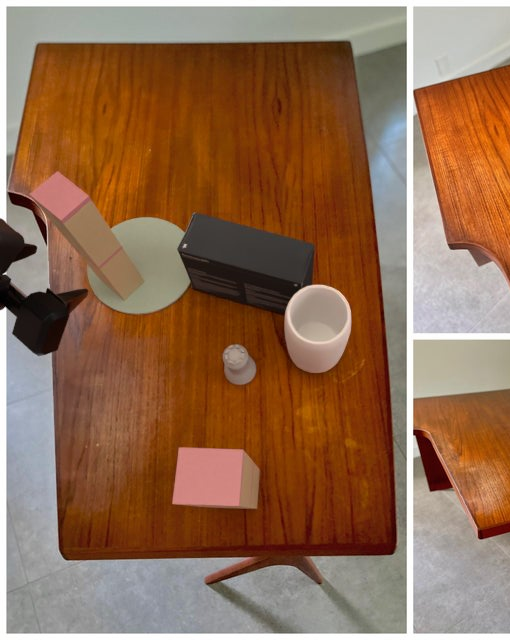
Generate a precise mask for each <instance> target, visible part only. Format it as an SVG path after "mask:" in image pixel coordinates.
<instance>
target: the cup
mask: <svg viewBox="0 0 510 640" xmlns="http://www.w3.org/2000/svg"><path fill="white" fill-rule="evenodd" d="M283 327H284V330H283V331H284V339H285V343H286V344H285V345H286V348H287V352H288V355H289V357H290V359H291V362H293V364H294V365H295V366H296V367H297V368H298V369H300V370H301V371H304V372H307V373H310V374H320V373H326V372H328V371H330V370H331V369H332V368H334V367H335V366H336V365H337V364H338V363H339V361H340V360H341V358H342V356H343V354H344V352H345V350H346V347H347V345H348V342H349V339H350V335H351V330H352V311H351V306H350V303H349V302H348V300H347V298H346V297H345V295H343V294H342V293H341V292H340V291H339V290H338V289H336V288H334V287H332V286H329V285H326V284H312V285H310V286H306V287H304V288H302V289H300V290H299V291H298V292H297V293H295V294H294V295H293V297H292V298H291V299H290V301H289V303H288V305H287V308H286V312H285V315H284V326H283Z"/></svg>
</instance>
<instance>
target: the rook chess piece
mask: <svg viewBox="0 0 510 640" xmlns="http://www.w3.org/2000/svg"><path fill="white" fill-rule="evenodd" d="M222 360H223V363H224V366H223V367H224V368H223V369H224V370H223V371H224V375H225V377H226V380H228V381H229V382H230V383H231V384H234V385H237V386H242V385H246V384H248V383H250V382H251V381H252V380H253V379H254V378H255V376H256V373H257V364H256V363H255V360H254V358H253V357H251V356H250V355H249V353H248V351H247V348H245V347H244V345H241V344H238V343H234V344H231V345H229V346H227V347H226V348H225V349H224V350H223V353H222Z"/></svg>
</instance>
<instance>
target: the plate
mask: <svg viewBox="0 0 510 640" xmlns="http://www.w3.org/2000/svg"><path fill="white" fill-rule="evenodd" d="M110 229H111V231H112V232H113V234H114V235H115V237H116V238H117V240H118V241H119V243H120V244H121V246H122V247H123V249H124V250H125V252H126V254H127V255H128V257H129V258H130V260H131V261H132V263H133V264H134V266H135V267H136V269H137V270H138V272H139V273H140V275H141V276H142V278H143V280H144V281H145V282H144V283H143V284H142V285H141V286H140V287H139V288H137V289H136V290H135V291H134V292H133V293H132V294H131V295H130V296H129V297H128V298H127V299H126V300H124V299H122V298H121V297H120V296H119V295H118V294H116V293H115V292H114V291H113V290H112V289H110V288H109V287H108V286H107V285H106V284H104V283H103V282H102V281H101V280H100V279H99V278H98V276H97V275H96V274H95V273H94V272H93V270H92V269H91V268H90V267H89V266H88V264H87V263H86V265H87V266H86V274H87V280H88V284H89V286H90V289H91V290H92V291H93V293H94V295H95V297H96V298H97V299H98V300H99V301H100V302H101V303H102V304H103V305H105V306H106V307H108V308H110V309H111V310H113V311H116V312H118V313H121V314H125V315H133V316H143V315H149V314H154V313H157V312H160V311H162V310H164V309H166V308H169V307H170V306H172V305H173V304H175V303H176V302H177V301H179V300H180V299H181V298H182V297H183V296H184V295H185V294H186V292H187V291H188V290H189V288H190V286H192V284H191V281H190V279H189V276H188V274H187V271H186V269H185V267H184V264H183V262H182V259H181V257H180V254H179V252H178V250H177V248H178V246H179V244H180V242H181V240H182V238H183V236H184V234H185V231H184V230H183V229H182V228H180V227H179V226H178V225H177V224H174V223H172V222H170V221H168V220H165V219H163V218H158V217H153V216H152V217H151V216H150V217H149V216H143V217H142V216H141V217H135V218H131V219H127V220H124V221H122V222H119V223H117V224H116V225H114V226H112V227H111V228H110Z"/></svg>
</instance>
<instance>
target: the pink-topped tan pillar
mask: <svg viewBox="0 0 510 640" xmlns="http://www.w3.org/2000/svg"><path fill="white" fill-rule="evenodd" d="M29 197H30V198H31V199H32V200H33V202H34V203H35V204H36V205H37V206H38V208H39V209H40V210H41V211H42V212H43V213H44V214H45V216H46V217H47V218H48V219H49V221H51V223H52V224H53V225H54V226H55V228H56V229H57V231H59V232H60V234H61V235H62V236H63V237H64V238H65V239H66V241H67V242H68V244H70V246H71V247H72V248H73V249H74V250H75V251H76V253H77V254H78V255H79V256H80V258H82V260H83V261H84V262H85V264H86V265H87V264H88V266H89V267H90V268H91V269H92V270H93V272H94V273H95V274H96V275H97V276H98V278H99V279H100V280H101V281H102V282H103V283H104V284H106V285H107V286H108V287H109V288H110V289H112V290H113V291H114V292H115V293H116V294H118V295H119V296H120V297H121V298H122V299H124V300H126V299H127V298H128V297H129V296H130V295H131V294H132V293H133V292H134V291H135V290H136V289H137V288H139V287H140V286H141V285H142V284H143V283H144V282H145V281H144V280H143V278H142V276H141V275H140V273H139V272H138V270H137V269H136V267H135V266H134V264H133V263H132V261H131V260H130V258H129V257H128V255H127V254H126V252H125V250H124V249H123V247H122V246H121V244H120V243H119V241H118V240H117V238H116V237H115V235H114V234H113V232H112V231H111V228H110V226H109V224H108V222H107V221H106V220H105V218H104V217H103V215H102V213H101V212H100V211H99V209H98V207H97V206H96V205H95V203H94V202H93V200H92V198H91V196H90V195H88V193H86V192H85V191H84V190H82V189H81V188H80V187H79V186H77V185H76V184H75V183H74V182H73V181H71V180H70V179H69V178H67V177H66V176H64V174H62V173H61V172H60V171H59V170H57V171H55V172H54V173H53V174H52V175H50V177H48V178H47V179H46V180H44V181H43V182H42V183H41V184H40V185H38V186H37V187H36V188H35V189H34V190H32V191H31V192H30V193H29Z"/></svg>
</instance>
